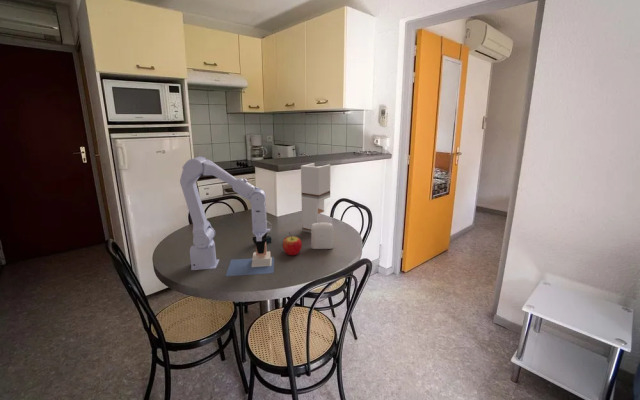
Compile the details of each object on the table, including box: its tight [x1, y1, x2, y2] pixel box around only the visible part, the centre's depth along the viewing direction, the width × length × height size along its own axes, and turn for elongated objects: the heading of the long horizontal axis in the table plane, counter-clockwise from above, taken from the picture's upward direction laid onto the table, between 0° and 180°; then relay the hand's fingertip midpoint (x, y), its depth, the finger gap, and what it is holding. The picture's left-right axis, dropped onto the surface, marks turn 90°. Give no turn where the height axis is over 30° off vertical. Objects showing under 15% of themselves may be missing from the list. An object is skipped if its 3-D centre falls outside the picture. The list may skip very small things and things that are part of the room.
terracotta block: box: [255, 242, 268, 256], centre depth 124 cm, size 4×4×4 cm
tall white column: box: [300, 162, 331, 234], centre depth 159 cm, size 11×11×35 cm
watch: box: [266, 220, 273, 245], centre depth 145 cm, size 6×8×11 cm
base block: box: [251, 250, 272, 266], centre depth 125 cm, size 7×7×3 cm
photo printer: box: [310, 221, 335, 250], centre depth 138 cm, size 10×4×12 cm, turn 89°
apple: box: [282, 232, 303, 256], centre depth 132 cm, size 8×8×10 cm
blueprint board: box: [225, 256, 275, 277], centre depth 122 cm, size 18×14×1 cm
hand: (261, 250), depth 124 cm, fingers closed on terracotta block, 4 cm apart
